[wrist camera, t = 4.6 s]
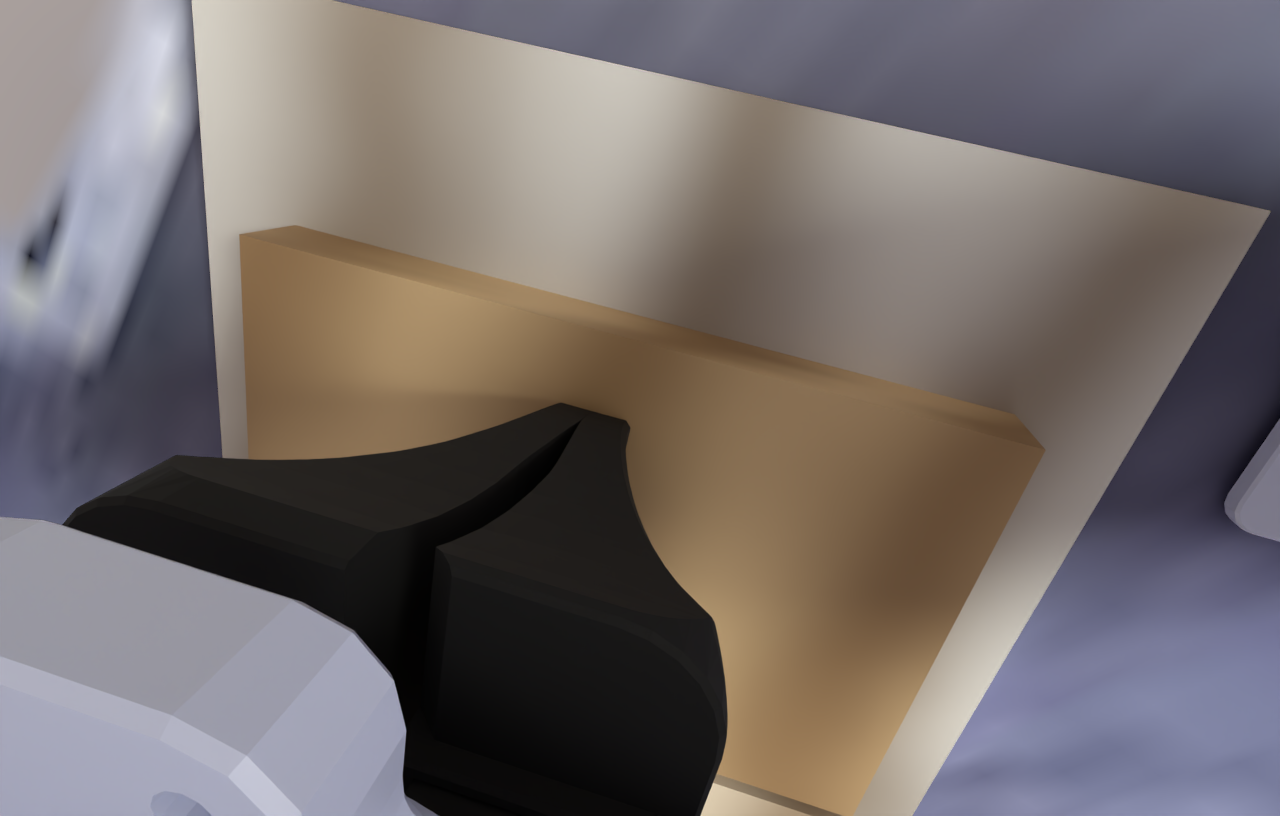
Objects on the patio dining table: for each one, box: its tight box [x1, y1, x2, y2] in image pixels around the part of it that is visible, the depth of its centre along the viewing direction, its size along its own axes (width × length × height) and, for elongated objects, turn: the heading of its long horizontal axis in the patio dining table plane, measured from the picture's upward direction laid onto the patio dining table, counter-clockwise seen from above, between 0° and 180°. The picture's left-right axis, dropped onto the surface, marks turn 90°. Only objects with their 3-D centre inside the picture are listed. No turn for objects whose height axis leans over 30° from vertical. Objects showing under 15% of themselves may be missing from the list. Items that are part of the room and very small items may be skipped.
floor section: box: [192, 0, 1271, 816], centre depth 14 cm, size 18×20×2 cm
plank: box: [239, 225, 1046, 816], centre depth 13 cm, size 14×9×2 cm, turn 78°
